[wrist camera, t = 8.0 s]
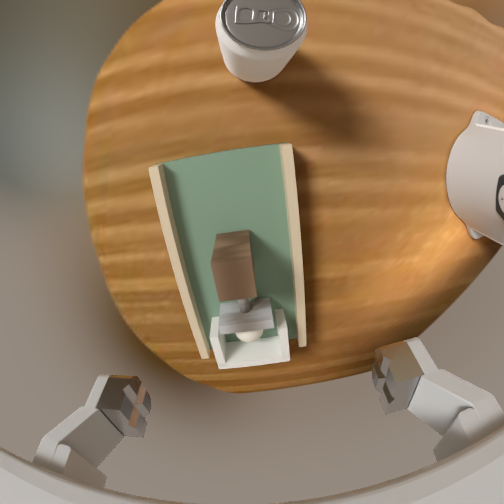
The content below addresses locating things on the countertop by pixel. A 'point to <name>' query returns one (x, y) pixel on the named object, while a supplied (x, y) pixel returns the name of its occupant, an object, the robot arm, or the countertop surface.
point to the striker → (238, 285)
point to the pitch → (233, 230)
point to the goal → (251, 347)
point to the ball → (249, 335)
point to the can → (260, 36)
